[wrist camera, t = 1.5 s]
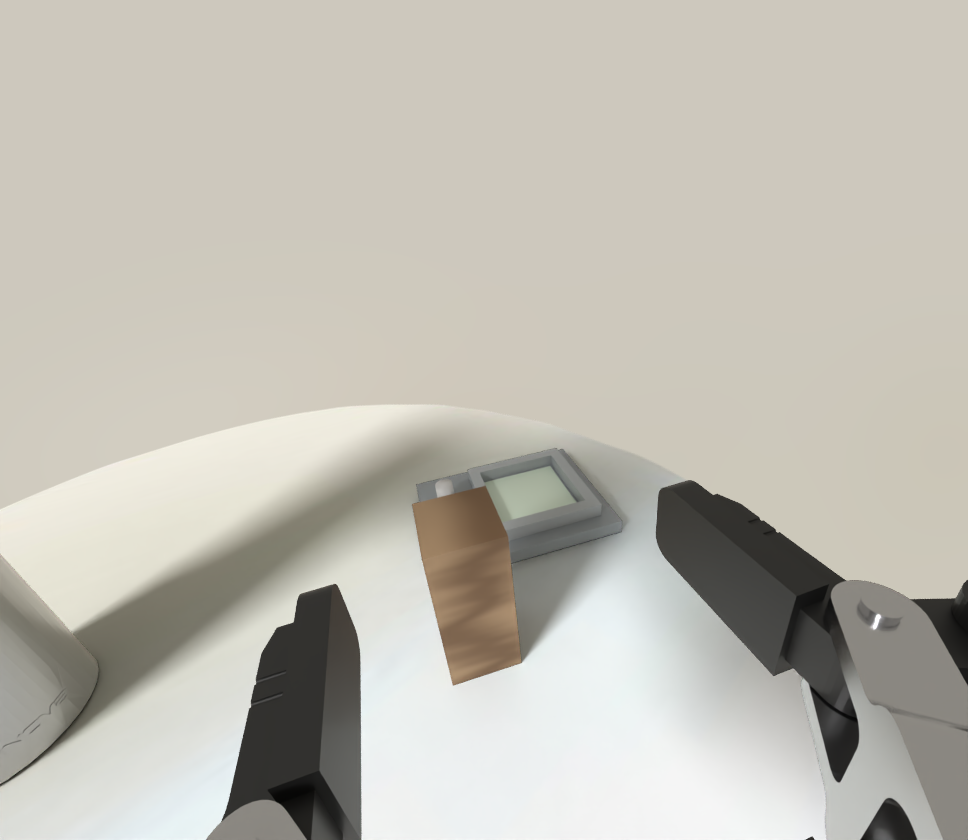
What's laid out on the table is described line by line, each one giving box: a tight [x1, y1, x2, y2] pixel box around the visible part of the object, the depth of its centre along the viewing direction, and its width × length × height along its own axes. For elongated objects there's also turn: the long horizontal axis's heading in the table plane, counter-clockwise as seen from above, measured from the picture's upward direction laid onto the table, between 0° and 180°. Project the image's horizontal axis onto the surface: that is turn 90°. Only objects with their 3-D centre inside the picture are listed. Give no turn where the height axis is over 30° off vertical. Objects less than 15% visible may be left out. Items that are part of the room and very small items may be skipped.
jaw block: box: [412, 486, 521, 685], centre depth 26 cm, size 4×4×11 cm
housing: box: [416, 448, 622, 563], centre depth 39 cm, size 16×12×3 cm
